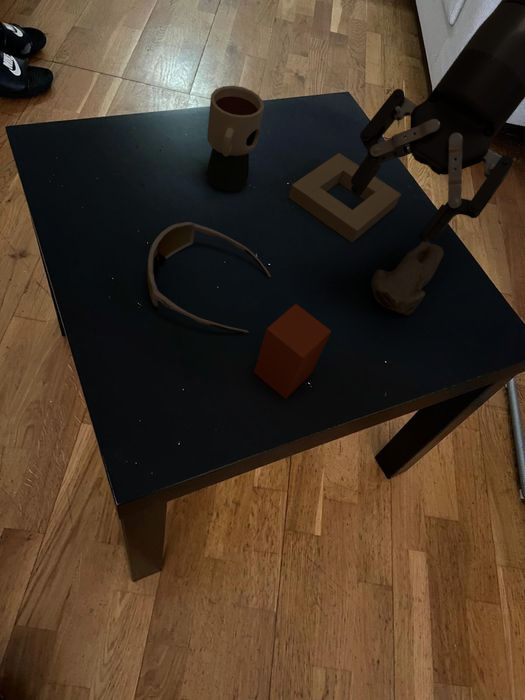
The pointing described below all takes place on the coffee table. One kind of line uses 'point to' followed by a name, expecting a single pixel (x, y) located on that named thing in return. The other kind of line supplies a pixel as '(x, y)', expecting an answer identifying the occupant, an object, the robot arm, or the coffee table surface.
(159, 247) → the sunglasses
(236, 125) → the character mug
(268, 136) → the coffee table surface
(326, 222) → the base pad
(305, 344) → the post
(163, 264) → the coffee table surface
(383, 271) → the sculpture
